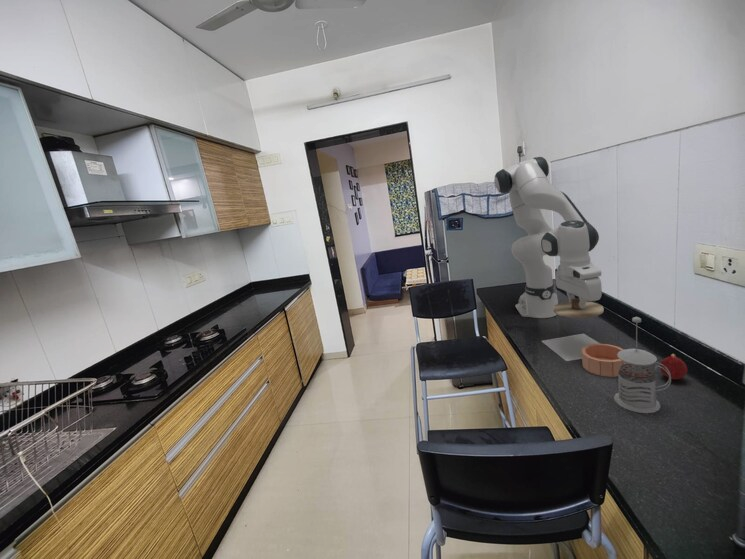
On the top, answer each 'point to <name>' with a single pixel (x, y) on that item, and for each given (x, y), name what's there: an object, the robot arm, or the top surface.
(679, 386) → the top surface
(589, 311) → the lid
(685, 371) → the pomegranate
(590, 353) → the bowl
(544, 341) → the mat
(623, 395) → the french press
